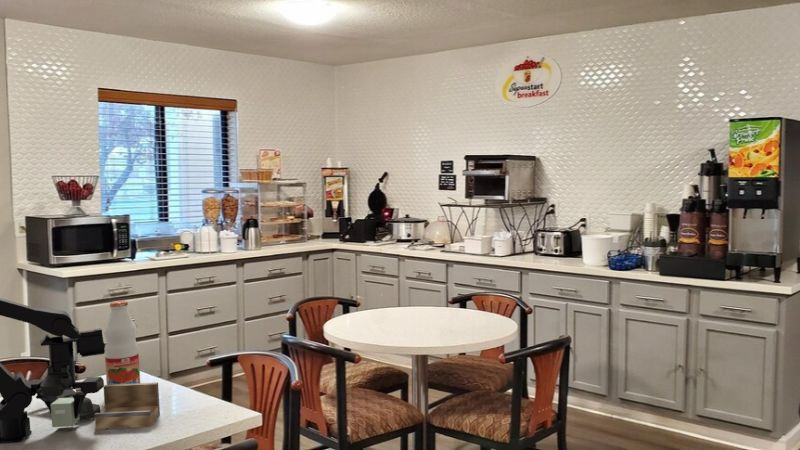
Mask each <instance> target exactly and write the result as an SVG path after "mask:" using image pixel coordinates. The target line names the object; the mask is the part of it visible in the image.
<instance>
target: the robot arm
mask: <svg viewBox="0 0 800 450" xmlns="http://www.w3.org/2000/svg"><path fill="white" fill-rule="evenodd" d="M1 316H2V317H5V318H9V319H13V320H15V321H20V322H23V323H28V324H31V325H33V326H35V327H37V328H38V329H40V330H42V331H44V332H46V333H48V334H45V335H44V337H43V339H41V340H40V341H39V342H40V344H39V345H40V346H41V347H44V346H47V347H48V360H49V365H48V367H47V374H46V376H45V377H44V378H43V379H31V380H28V379H26V378H25V376H24V375H23V373H22V372H21V371H19V372H18V373H17V374H14V373H12V372H11V371H9V370H8V369H7V368H6V367H5V366H4V365H3V364H2V363H1V362H0V396H1V397H2V400H0V443H1V444H2V443H17V442H22V441H24V439H26V438H27V437H28V436H29V435H30V434H32V433H33V431H32V430H31V420H30V419H31V418H30V417H28V411H27V410H25V409H27V408H28V407H29V406H30V405H31V403H32V402H33V397H34V396H35V399H37V400H41V401H42V402H44V404H45V406H46V407H47V409H48V411H49V413H50V414H51V404H52V403H53V402H54V401H56V400H57V399H56V396H60V395H62V394H63V391H64V390H71V389H73V390H75V392H76V393H75V394H74V395H72V396H73V399H74V416H75V419H76V418H78V415H79V412H80V409H81V406H82V403H83V401H84V398H85V397H87V395H88V394H96V393H99V392H100V390H102V389H104V386H105V381H104V379H103V378H102V376H91V377H90V376H89V377H86V378H85V379H84V380H82V381H77V380H78V375H76V371H75V370H76V369H75V366H76V364H77V360H76V359H75V356H74V355H75V354H76V355H78V354H79V356H81V358H84V357H85V358H86V357H92V356H99V355H101V356H102V355H105V346H106V344H105V342H104V337H103V336H104V334H103V330H102V328H96V329H91V330H83V331H80V330H79V329H78V327H76V326H75V325H74V324H73V321H72V318H71V315H70V314H69V313H68V312H67V311H65V310H61V309H55V308H53V309H52V308H37V307H33V306H30V305H26V304H22V303H19V302H16V301H12V300H8V299H4V298H1V297H0V317H1ZM49 334H51V335H52V336H50V335H49ZM63 336H65V337H63ZM74 343H75V353H74Z"/></svg>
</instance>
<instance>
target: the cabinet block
mask: <svg viewBox="0 0 800 450" xmlns="http://www.w3.org/2000/svg"><path fill="white" fill-rule="evenodd" d="M50 417H51V428H64V427H65V428H66V427H73V426H74V425H75V424H76V422H77V421H78V420H80V418H79V415H78V418H76V419H75V416H74V399H73V398H58V399H57V400H56V401H54V402H53V403H52V404H51V413H50ZM77 423H78V422H77Z"/></svg>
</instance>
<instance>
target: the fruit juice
mask: <svg viewBox="0 0 800 450" xmlns="http://www.w3.org/2000/svg"><path fill="white" fill-rule="evenodd" d="M128 303H129V302H128V300H115V301H110V303H109V308H110V310H111V311H110V314H109V317H108V321H107V324H106V325H105V327H104V329H103V336H104V339H105V354H104V363H105V379H106V385H113V384H134V383H141V374H140V373H141V372H140V359H139V358H140V355H139V351H140V350H139V345H138V342H137V341H136V338H137V333H138V329H137V325H136V324H135V323H134V321H133V319H132V317H131V315H130V312H129V310H128V305H129V304H128Z"/></svg>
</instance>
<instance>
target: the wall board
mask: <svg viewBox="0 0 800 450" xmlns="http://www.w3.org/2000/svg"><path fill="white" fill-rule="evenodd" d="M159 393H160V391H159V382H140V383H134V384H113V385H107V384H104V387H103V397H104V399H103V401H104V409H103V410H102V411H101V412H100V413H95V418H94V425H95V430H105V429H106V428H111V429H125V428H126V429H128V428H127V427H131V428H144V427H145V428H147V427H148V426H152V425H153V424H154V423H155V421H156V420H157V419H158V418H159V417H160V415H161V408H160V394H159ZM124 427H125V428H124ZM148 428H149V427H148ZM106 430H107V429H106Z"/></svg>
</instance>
